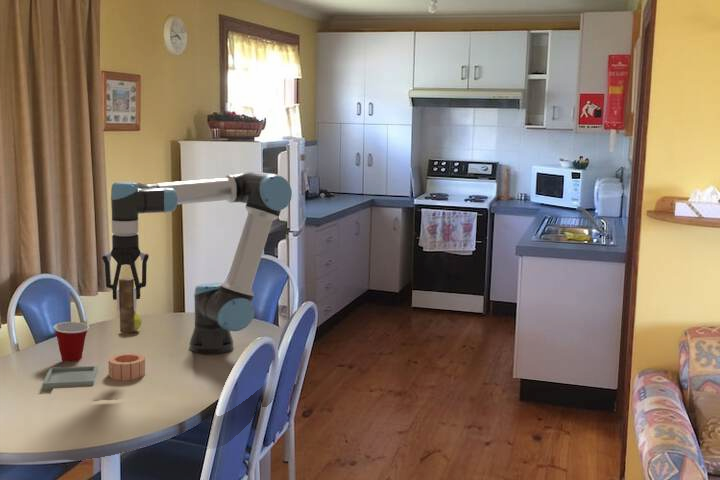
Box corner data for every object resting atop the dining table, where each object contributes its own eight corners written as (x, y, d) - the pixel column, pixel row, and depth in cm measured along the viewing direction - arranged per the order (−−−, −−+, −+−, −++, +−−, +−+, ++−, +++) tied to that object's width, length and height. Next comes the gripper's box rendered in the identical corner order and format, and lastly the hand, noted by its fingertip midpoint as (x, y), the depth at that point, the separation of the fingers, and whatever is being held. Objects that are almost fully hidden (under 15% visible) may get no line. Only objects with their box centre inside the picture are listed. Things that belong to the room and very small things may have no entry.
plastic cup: (78, 368, 232) (77, 331, 230) (47, 364, 234) (46, 328, 232) (96, 357, 242) (95, 322, 240) (66, 354, 244) (66, 319, 242)
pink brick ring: (145, 370, 232) (145, 352, 231) (144, 382, 222) (144, 363, 221) (110, 372, 229) (110, 353, 228) (107, 384, 219) (107, 365, 218)
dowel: (134, 328, 226) (133, 277, 223) (134, 332, 222) (133, 280, 219) (120, 329, 225) (119, 278, 222) (119, 332, 221) (118, 281, 218)
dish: (98, 372, 229) (98, 365, 228) (93, 388, 215) (93, 380, 215) (50, 374, 225) (50, 367, 225) (42, 390, 212) (42, 383, 212)
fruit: (137, 334, 269) (137, 303, 268) (119, 333, 269) (119, 302, 268) (143, 329, 276) (143, 298, 274) (125, 328, 276) (125, 297, 274)
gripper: (155, 231, 224) (156, 305, 228) (96, 232, 220) (98, 307, 224) (154, 235, 217) (156, 311, 221) (93, 236, 213) (95, 313, 216)
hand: (126, 309), depth 222 cm, fingers closed on dowel, 4 cm apart
